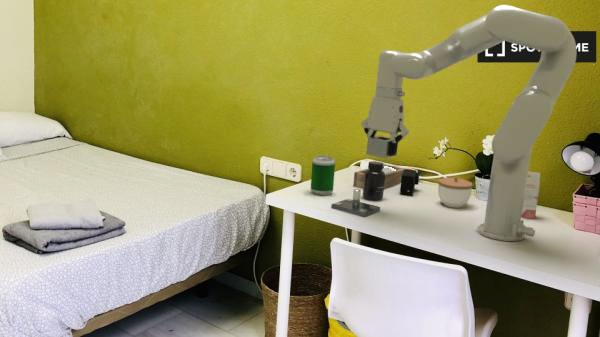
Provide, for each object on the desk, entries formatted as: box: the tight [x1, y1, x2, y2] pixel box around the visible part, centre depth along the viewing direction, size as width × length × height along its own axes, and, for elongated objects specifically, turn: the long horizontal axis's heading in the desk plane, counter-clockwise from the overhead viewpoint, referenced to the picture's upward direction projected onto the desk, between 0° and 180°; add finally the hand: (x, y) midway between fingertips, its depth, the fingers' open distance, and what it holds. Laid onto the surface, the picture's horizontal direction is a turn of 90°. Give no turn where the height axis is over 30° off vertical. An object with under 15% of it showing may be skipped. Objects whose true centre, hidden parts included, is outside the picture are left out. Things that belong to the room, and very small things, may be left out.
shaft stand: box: [330, 188, 381, 218], centre depth 185 cm, size 12×9×6 cm
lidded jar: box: [437, 176, 473, 209], centre depth 196 cm, size 11×11×9 cm
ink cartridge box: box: [521, 171, 541, 220], centre depth 188 cm, size 9×5×15 cm, turn 68°
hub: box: [365, 135, 399, 159], centre depth 180 cm, size 7×7×5 cm
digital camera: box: [399, 168, 420, 197], centre depth 208 cm, size 10×5×7 cm, turn 165°
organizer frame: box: [352, 163, 406, 190], centre depth 217 cm, size 9×20×5 cm, turn 142°
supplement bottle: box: [362, 160, 385, 202], centre depth 197 cm, size 7×7×12 cm
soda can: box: [310, 155, 336, 196], centre depth 200 cm, size 8×8×12 cm
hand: (381, 152), depth 180 cm, fingers closed on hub, 6 cm apart
